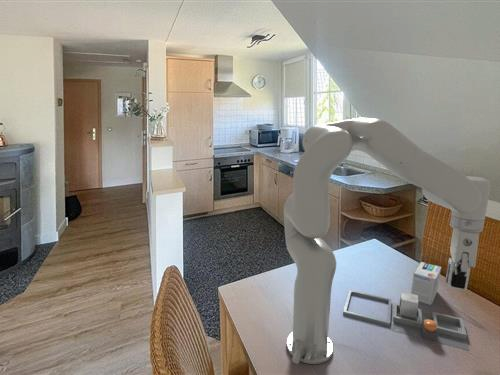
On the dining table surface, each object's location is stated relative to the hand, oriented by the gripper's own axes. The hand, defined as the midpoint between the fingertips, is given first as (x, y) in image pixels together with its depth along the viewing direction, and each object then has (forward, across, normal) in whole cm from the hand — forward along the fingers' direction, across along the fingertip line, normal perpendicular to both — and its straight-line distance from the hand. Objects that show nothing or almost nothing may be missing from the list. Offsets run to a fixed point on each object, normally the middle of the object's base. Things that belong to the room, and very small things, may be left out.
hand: (456, 282), depth 91 cm
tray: (+16, 0, +23) cm, 28 cm away
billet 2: (+1, 0, 0) cm, 1 cm away
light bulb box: (+16, +16, +6) cm, 23 cm away
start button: (+12, -6, +6) cm, 15 cm away
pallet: (+16, -2, +6) cm, 17 cm away
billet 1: (+15, 0, +11) cm, 19 cm away
